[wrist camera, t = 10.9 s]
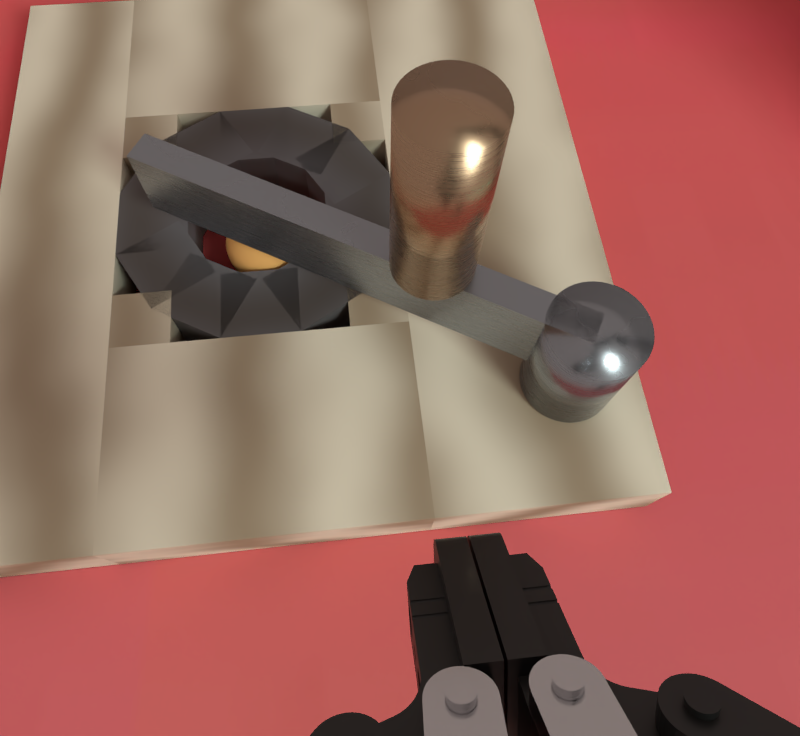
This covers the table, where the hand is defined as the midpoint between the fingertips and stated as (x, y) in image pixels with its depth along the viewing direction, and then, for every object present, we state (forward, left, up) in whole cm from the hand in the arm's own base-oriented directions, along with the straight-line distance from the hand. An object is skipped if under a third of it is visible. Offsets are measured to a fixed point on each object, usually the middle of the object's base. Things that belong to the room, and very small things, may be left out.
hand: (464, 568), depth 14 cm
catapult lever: (+1, -12, -8) cm, 14 cm away
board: (+4, -17, -11) cm, 20 cm away
